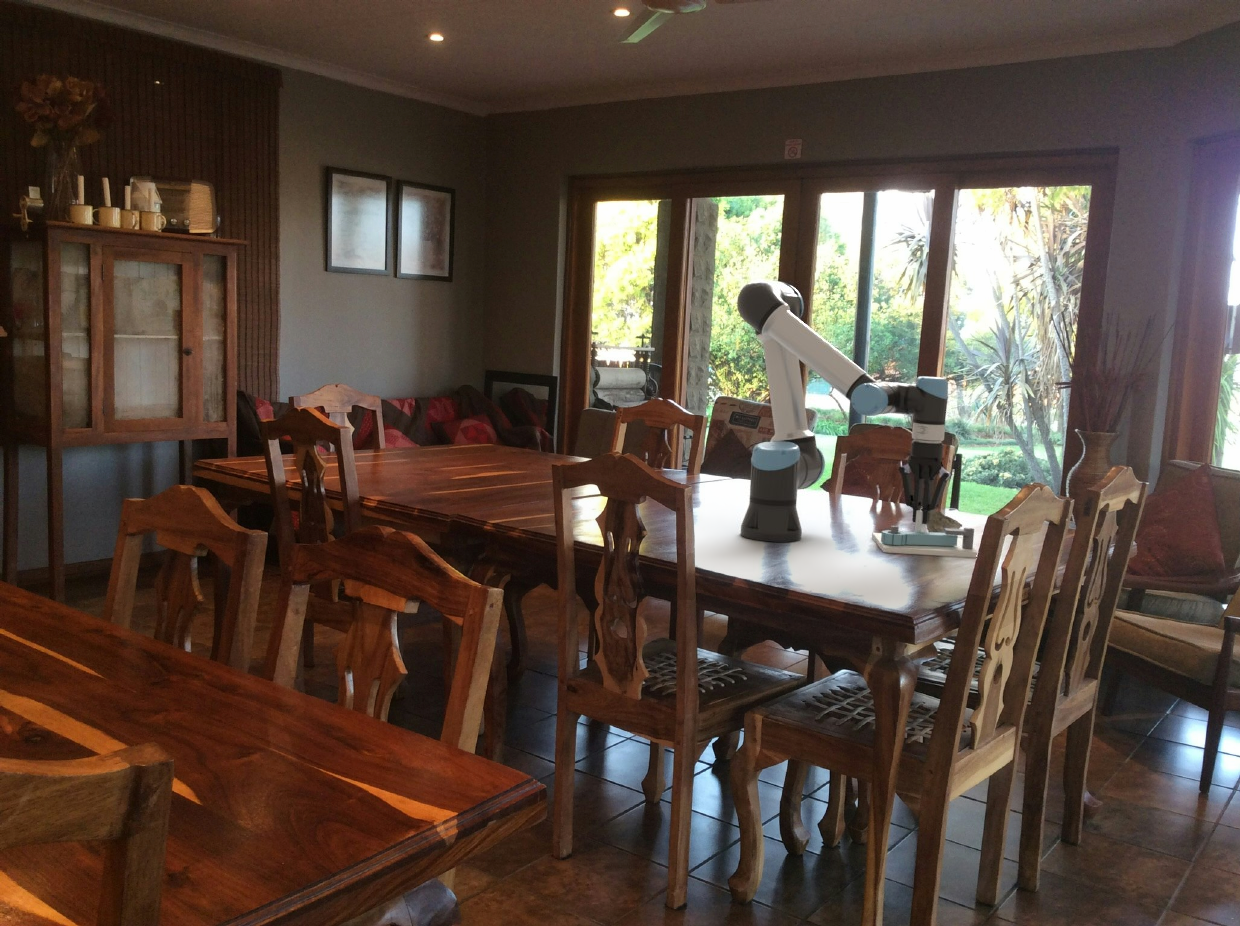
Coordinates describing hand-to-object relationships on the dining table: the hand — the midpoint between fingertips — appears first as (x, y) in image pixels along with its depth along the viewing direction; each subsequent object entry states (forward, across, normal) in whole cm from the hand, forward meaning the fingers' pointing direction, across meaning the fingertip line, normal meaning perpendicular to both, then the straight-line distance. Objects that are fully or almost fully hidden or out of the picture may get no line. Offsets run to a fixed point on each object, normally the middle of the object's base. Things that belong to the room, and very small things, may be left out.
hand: (919, 536), depth 262 cm
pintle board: (+3, +1, +1) cm, 3 cm away
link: (+1, +1, -3) cm, 4 cm away
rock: (+3, -1, +18) cm, 18 cm away
